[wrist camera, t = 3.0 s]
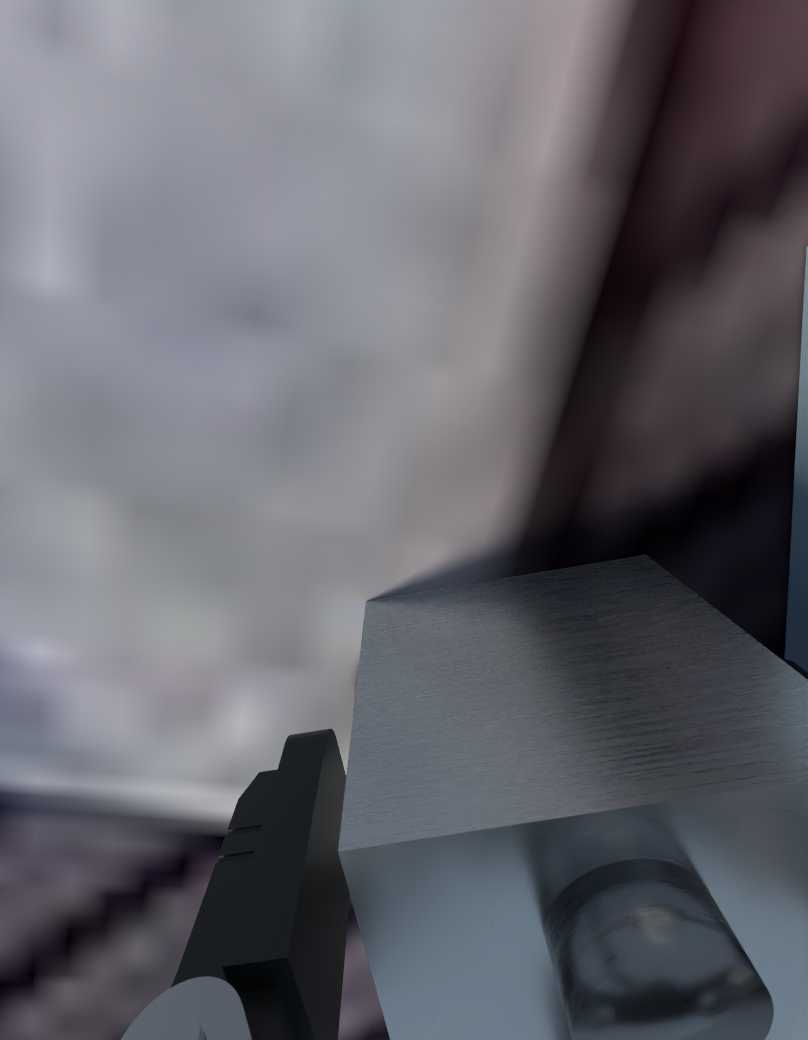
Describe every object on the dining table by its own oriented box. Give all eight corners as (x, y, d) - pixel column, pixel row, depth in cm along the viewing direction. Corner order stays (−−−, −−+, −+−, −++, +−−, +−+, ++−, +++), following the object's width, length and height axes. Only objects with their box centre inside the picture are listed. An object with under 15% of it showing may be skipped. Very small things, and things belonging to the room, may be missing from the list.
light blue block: (366, 598, 9) (327, 951, 4) (644, 552, 9) (1026, 849, 4) (412, 813, 11) (433, 1291, 5) (652, 776, 11) (933, 1230, 5)
